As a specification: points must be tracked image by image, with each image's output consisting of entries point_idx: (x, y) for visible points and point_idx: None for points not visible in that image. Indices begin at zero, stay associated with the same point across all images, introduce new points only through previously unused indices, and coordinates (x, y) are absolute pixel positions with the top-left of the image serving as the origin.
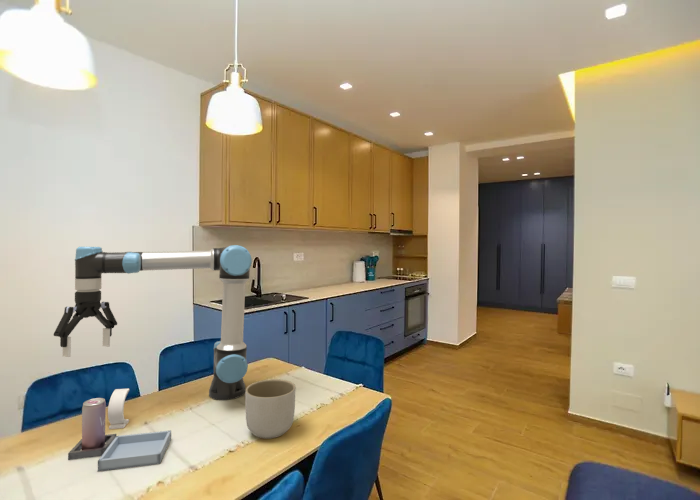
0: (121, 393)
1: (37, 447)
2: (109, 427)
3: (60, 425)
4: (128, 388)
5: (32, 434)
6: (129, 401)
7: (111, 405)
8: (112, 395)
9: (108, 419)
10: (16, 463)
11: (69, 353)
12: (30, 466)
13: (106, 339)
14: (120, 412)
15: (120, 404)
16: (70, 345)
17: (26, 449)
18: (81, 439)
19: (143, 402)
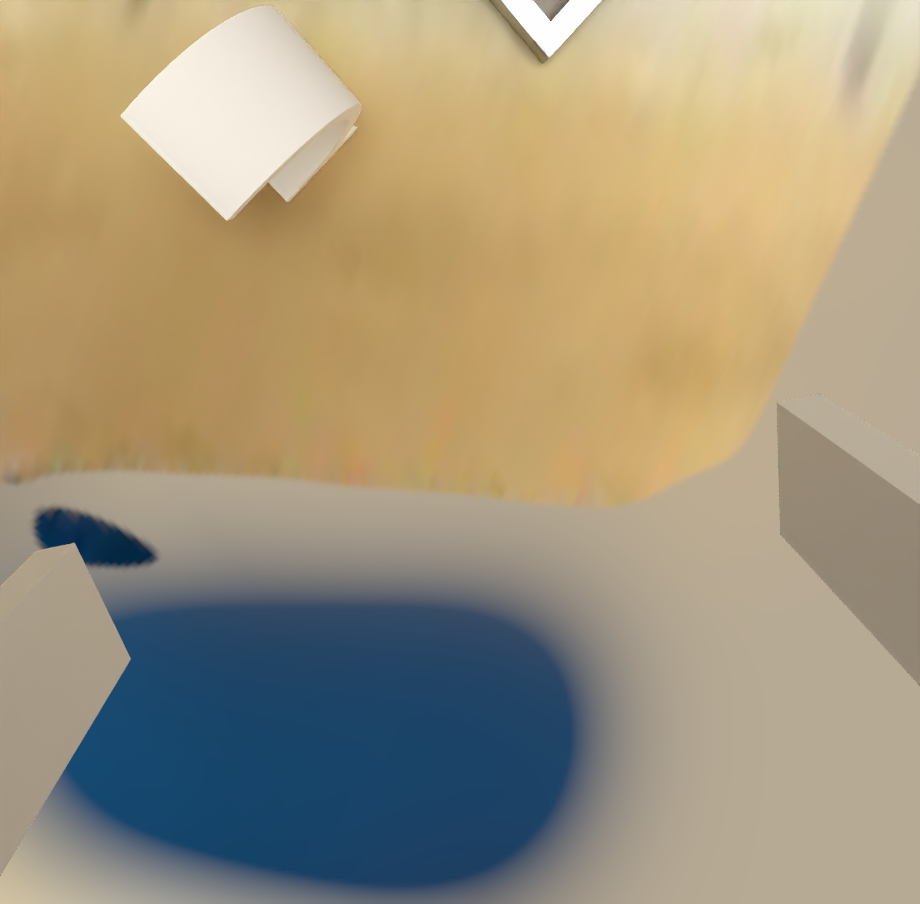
0: (216, 96)
1: (694, 260)
2: (354, 125)
3: (504, 447)
4: (128, 123)
5: (631, 453)
6: (98, 458)
7: (329, 89)
8: (287, 146)
9: (358, 114)
10: (836, 151)
11: (826, 420)
12: (827, 33)
13: (15, 672)
14: (289, 23)
15: (270, 29)
16: (914, 490)
17: (731, 287)
18: (572, 27)
19: (30, 363)
